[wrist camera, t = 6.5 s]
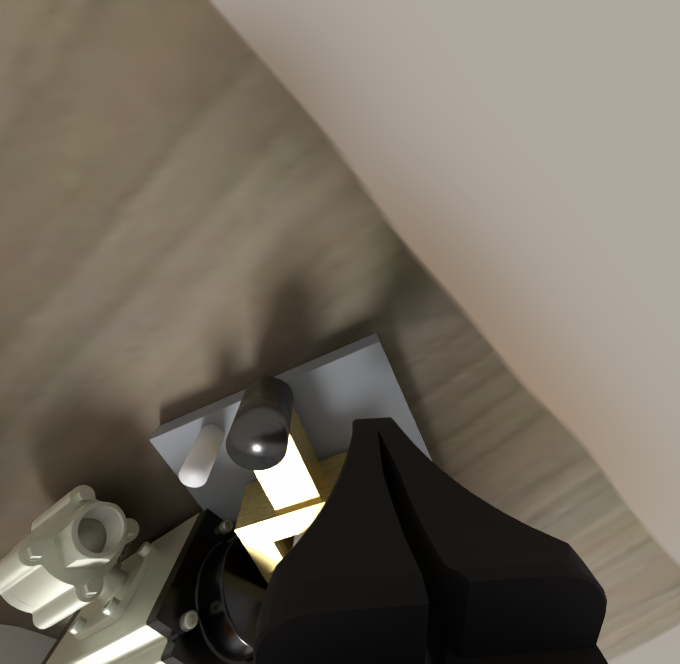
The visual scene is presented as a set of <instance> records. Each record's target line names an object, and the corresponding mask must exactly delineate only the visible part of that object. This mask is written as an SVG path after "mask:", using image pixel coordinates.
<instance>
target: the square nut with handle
mask: <svg viewBox="0 0 680 664" xmlns="http://www.w3.org/2000/svg"><path fill="white" fill-rule="evenodd" d="M293 404H294V395H293V392H292V390H291V388H290V387H289V385H288V384H287V383H285V382H284V381H282V380H281V379H278V378H275V377H261V378H258V379H256V380H254V381H252V382H251V383H250V384H249V385H248V386H247V388H246V390H245V392H244V395H243V397H242V400H241V402H240V405H239V408H238V410H237V413H236V415H235V418H234V420H233V423H232V425H231V428H230V430H229V433H228V435H227V438H226V451H227V453H228V455H229V457H230V458H231V460H232V461H233V462H234V463H236V464H237V465H238V466H240V467H242V468H245V469H248V470H252V471H254V472H255V474H256V476H257V478H258V479H259V480H257V481H254V482H251V483H248V484H247V485H246V489H245V492H244V496H243V500H242V504H241V508H240V512H239V515H238V519H237V523H236V527H235V532H236V533H237V535H238V536H239V538H240V540H241V541H242V543H243V545H244V546H245V548H246V549H247V551H248V553H249V554H250V556H251V557H252V559H253V561H254V562H255V564H256V566H257V567H258V569H259V570H260V572H261V574H262V575H263V577H264V579H265V580H266V582H267V583H268V584H269V581H270V579H271V576H272V574H273V571H274V569H275V566H276V565H277V564H278V563H279V562H280V561H281V560H282V559H283V557H284V556H285V555H286V554H287V553H288V552H289V551H290V550H291V549H292V548H293V542H294V535H296V534H300V533H303V532H305V531H306V530H307V529H308V527H309V526H310V525H311V523H312V522H313V521H314V519H315V518H316V516H317V515H318V513H319V512H320V510H321V509H322V507H323V505H324V504H325V502H326V500H327V498H328V497H329V495H330V493H331V491H332V489H333V487H334V485H335V483H336V481H337V479H338V477H339V474H340V472H341V469H342V467H343V464H344V462H345V459H346V456H347V453H348V451H347V452H344V453H341V454H338V455H335V456H332V457H329V458H326V459H323V460H319V461H318V459H317V456H316V454H315V452H314V450H313V448H312V446H311V443H310V441H309V439H308V437H307V435H306V433H305V430H304V428H303V426H302V424H301V422H300V420H299V417H298V415H297V413H296V411H295V409H294V407H293Z"/></svg>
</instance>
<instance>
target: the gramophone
mask: <svg viewBox="0 0 680 664" xmlns="http://www.w3.org/2000/svg"><path fill="white" fill-rule="evenodd" d="M56 641H57V639H55V638H52V637H49V636H46V635H42V634H39V633H36V632H33V631H30V630H27V629H24V628H21V627H17V626H10V625H2V624H0V664H41V663H42V662H43V660H44V659H45V657H46V656H47V654H48V653H49V651H50V650H51V648H52V647H53V645H54V644H55V642H56Z"/></svg>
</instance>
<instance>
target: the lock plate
mask: <svg viewBox="0 0 680 664" xmlns="http://www.w3.org/2000/svg"><path fill="white" fill-rule="evenodd" d="M274 377H275V378H278V379H281V380H282V381H284V382H285V383H287V384H288V385H289V387H290V388H291V390H292V392H293V395H294V404H293V407H294V409H295V411H296V413H297V415H298V417H299V420H300V422H301V424H302V426H303V428H304V430H305V433H306V435H307V437H308V439H309V441H310V443H311V446H312V448H313V450H314V452H315V454H316V456H317V459H318V461H319V460H323V459H326V458H329V457H332V456H335V455H338V454H341V453H344V452H347V451H348V449H349V446H350V442H351V437H352V422H353V421H354V420H355V419H367V418H385V417H391V418H392V419H393V420H394V421H395V422H396V423H397V424H398V426H399V427H400V428H401V429H402V430H403V432H404V433H405V434H406V435H407V436H408V437H409V438H410V439H411V441H412V442H413V443H414V444H415V445H416V446H417V447H418V448H419V449H420V450H421V451H422V452H423V453H424V454H425V455H426V456H427V457H428V458H429V459H430V460H431V461H432V459H431V457H430V454H429V452H428V450H427V447H426V445H425V443H424V441H423V438H422V436H421V434H420V431H419V429H418V427H417V425H416V422H415V420H414V418H413V415H412V413H411V411H410V409H409V406H408V404H407V402H406V400H405V397H404V395H403V393H402V390H401V388H400V386H399V384H398V381H397V379H396V377H395V374H394V372H393V370H392V368H391V365H390V363H389V361H388V359H387V356H386V354H385V352H384V349H383V347H382V345H381V343H380V340H379V338H378V336H377V333H374V334H372V335H369V336H367V337H365V338H362V339H360V340H358V341H355V342H353V343H351V344H349V345H346V346H344V347H342V348H339V349H337V350H335V351H332V352H330V353H328V354H325V355H323V356H321V357H318V358H316V359H314V360H311V361H309V362H307V363H304V364H302V365H300V366H297V367H295V368H293V369H290V370H288V371H286V372H283V373H281V374H279V375H276V376H274ZM245 390H246V389H244V390H242V391H239V392H237V393H235V394H232V395H230V396H228V397H225V398H223V399H221V400H218V401H216V402H214V403H211V404H209V405H207V406H204V407H202V408H200V409H197V410H195V411H193V412H190V413H188V414H186V415H183V416H181V417H179V418H176V419H174V420H172V421H169V422H167V423H165V424H162V425H160V426H159V427H158V428H157V430H156V431H155V432H154V434H153V435H152V437H151V438H150V439H149V440H150V442H151V443H152V444H153V446H154V447H155V448H156V449H157V451H158V452H159V453H160V455H161V456H162V457H163V458H164V460H165V461H166V462H167V464H168V465H169V466H170V468H171V469H172V470H173V471H174V473H175V474H176V475H177V477H178V478H179V479H180V481H181V482H182V483H183V484H184V486H185V487H186V488H187V490H188V491H189V492H190V494H191V495H192V496H193V497H194V499H195V500H196V501H197V503H198V504H199V505H200V506H201V508H202V509H203V510H206V509H207V508H208V509H209V510H211V511H212V512H213V513H215V514H216V515H217V516H218V517H220V518H221V519H222V520H224V521H225V520H226V519H229V520H231V521H232V523H233V528H234V529H235V527H236V523H237V519H238V515H239V512H240V508H241V504H242V500H243V496H244V492H245V489H246V485H247V484H248V483H251V482H254V481H257V480H259V479H258V478H257V476H256V474H255V472H254V471H252V470H248V469H245V468H242V467H240V466H238V465H237V464H236V463H234V462H233V461H232V460H231V458H230V457H229V455H228V453H227V451H226V438H227V435H228V433H229V430H230V428H231V425H232V423H233V420H234V418H235V415H236V413H237V410H238V408H239V405H240V402H241V400H242V397H243V395H244V392H245ZM432 462H433V461H432ZM304 533H305V532H303V533H300V534H296V535H294V542H293V546H294V545H295V544H296V543H297V542H298V541H299V539H300V538H301V537H302V535H303V534H304Z"/></svg>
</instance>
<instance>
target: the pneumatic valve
mask: <svg viewBox="0 0 680 664" xmlns="http://www.w3.org/2000/svg"><path fill="white" fill-rule="evenodd" d="M138 533H139V525H138V523H137V521H135V520H134V519H132V518H126V516H125V514H124V513H123V511H122V509H121V508H120V507H119V506H118V505H117V504H114V503H110V502H101V501H99V500H97V499H96V498H95V492H94V490H93V489H92V488H91V487H90V486H87V485H80V486H77V487H75V488H74V489H73V490H72V491H70V492H69V493H68V494H66V495H65V496H64V497H63V498H61V499H60V500H59V501H58V502H56V503H55V504H54V505H53V506H51V507H50V508H49V509H48V510H46V511H45V512H44V513H42V514H41V515H40V516H39V517H37V518H36V519H35V520H34V522H33V523H32V527H31V533H30V534H29V535H28V536H26V537H25V538H24V539H22V540H21V541H20V542H19V543H18V544H17V545H16V546H15V547H14V548H13V549H12V550H11V551H10V553H9V554H8V555H7V556H5V557H4V558H3V559H1V560H0V595H1V596H2V597H3V598H4V599H5V600H6V601H7V602H8V603H9V604H10V605H12V606H13V607H15V608H17V609H19V610H21V611H24V612H28V613H31V614H32V615H33V623H34V625H35V626H36V627H37V628H39V629H46V628H49V627H51V626H52V625H54V624H56V623H57V622H59V621H61V620H62V619H64V618H66V617H67V616H69V615H71V614H72V613H74V612H75V611H76V612H75V614H74V615H73V617H72V618H71V620H70V621H69V623H68V624H67V626H66V627H65V629H64V630H63V632H62V633H61V635H60V636H59V638H58V639H57V641H56V642H55V644H54V645H53V647H52V648H51V650H50V651H49V653H48V654H47V656H46V657H45V659H44V660H43V662H42V663H41V664H254V663H253V645H254V638H255V632H256V625H257V620H258V616H259V612H260V608H261V604H262V601H263V598H264V595H265V592H266V589H267V586H268V583H267V582H266V580H265V579H264V577H263V575H262V574H261V572H260V570H259V569H258V567H257V566H256V564H255V562H254V561H253V559H252V557H251V556H250V554H249V553H248V551H247V549H246V548H245V546H244V545H243V543H242V541H241V540H240V538H239V536H238V535H237V533H236V532H235V529H234V528H233V523H232V521H231V520H229V519H226V520H225V521H224V520H222V519H221V518H220V517H218V516H217V515H216V514H215V513H213V512H212V511H211V510H209V509H208V508H207V509H206V510H203V511H201V512H200V513H198V514H196V515H195V516H193V517H192V518H190V519H189V520H187V521H185V522H184V523H182V524H181V525H179V526H177V527H176V528H174V529H173V530H171V531H170V532H168V533H166V534H165V535H163V536H162V537H160V538H159V539H157V540H155V541H154V542H152V543H151V544H150V543H149V542H147V541H146V542H144V543H143V544H142V545H141V546H140V547H139V549H138V551H137V553H135V554H133V555H132V556H130V557H129V558H127V559H125V560H124V561H122V562H121V563H119V562H118V561H117V560H118V558H119V557H120V555H121V553H122V551H123V548H124V546H125V545H127V544H128V543H130V542H131V541H133V540H134V539H135V538H136V537H137V535H138Z"/></svg>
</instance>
